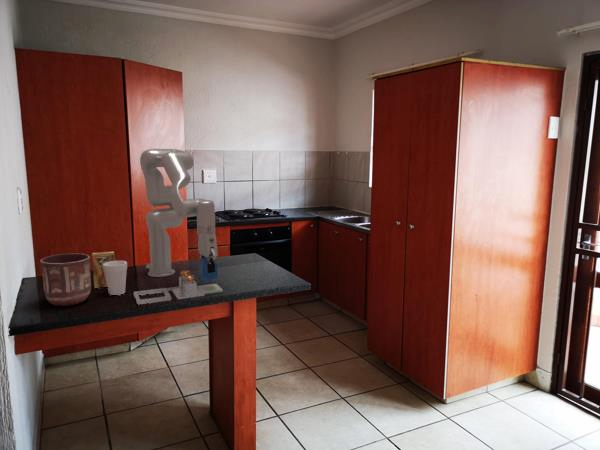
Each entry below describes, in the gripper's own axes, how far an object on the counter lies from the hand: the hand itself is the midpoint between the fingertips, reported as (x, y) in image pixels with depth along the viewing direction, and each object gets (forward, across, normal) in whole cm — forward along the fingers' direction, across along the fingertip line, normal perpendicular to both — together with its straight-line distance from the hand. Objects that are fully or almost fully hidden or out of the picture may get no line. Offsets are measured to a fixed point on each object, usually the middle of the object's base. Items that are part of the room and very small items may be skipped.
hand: (207, 270), depth 198 cm
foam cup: (+9, +18, +33) cm, 39 cm away
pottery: (+9, +18, +52) cm, 55 cm away
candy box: (+9, +31, +35) cm, 47 cm away
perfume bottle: (+4, 0, 0) cm, 4 cm away
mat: (+9, 0, 0) cm, 9 cm away
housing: (+9, +2, +16) cm, 19 cm away
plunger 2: (+7, -3, +10) cm, 12 cm away
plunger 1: (+7, +5, +8) cm, 12 cm away
